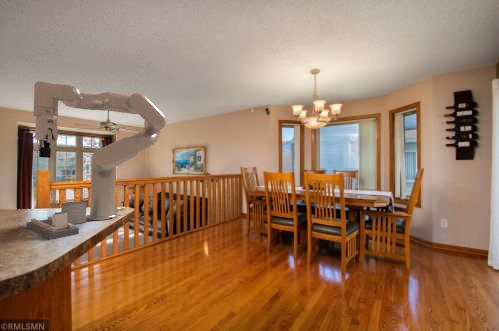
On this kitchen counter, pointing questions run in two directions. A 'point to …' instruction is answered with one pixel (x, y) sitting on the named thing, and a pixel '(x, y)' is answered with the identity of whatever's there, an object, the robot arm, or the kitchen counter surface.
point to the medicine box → (75, 212)
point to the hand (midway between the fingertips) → (44, 157)
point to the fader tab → (59, 220)
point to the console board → (51, 228)
